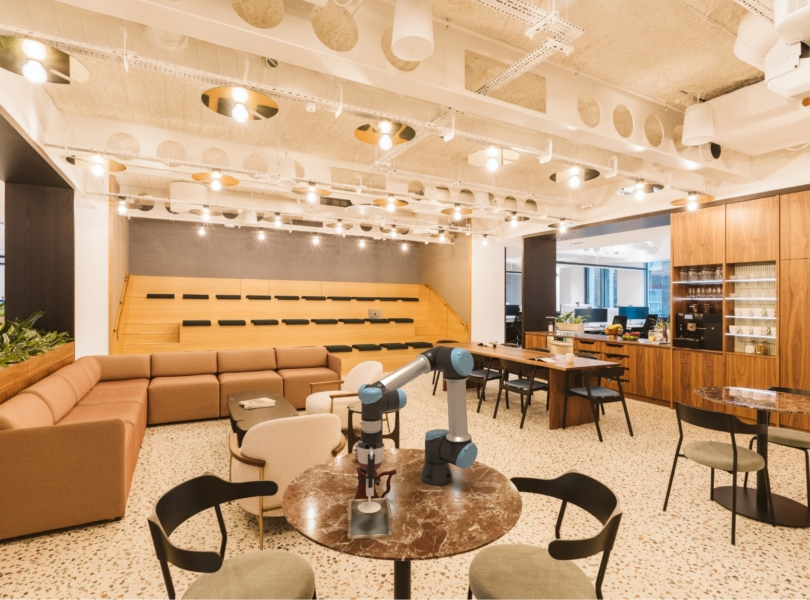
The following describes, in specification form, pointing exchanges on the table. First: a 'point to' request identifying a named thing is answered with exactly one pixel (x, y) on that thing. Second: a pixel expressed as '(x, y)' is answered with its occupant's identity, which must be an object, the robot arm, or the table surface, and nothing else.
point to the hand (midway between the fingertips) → (369, 493)
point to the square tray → (369, 520)
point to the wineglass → (363, 462)
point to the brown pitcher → (362, 483)
